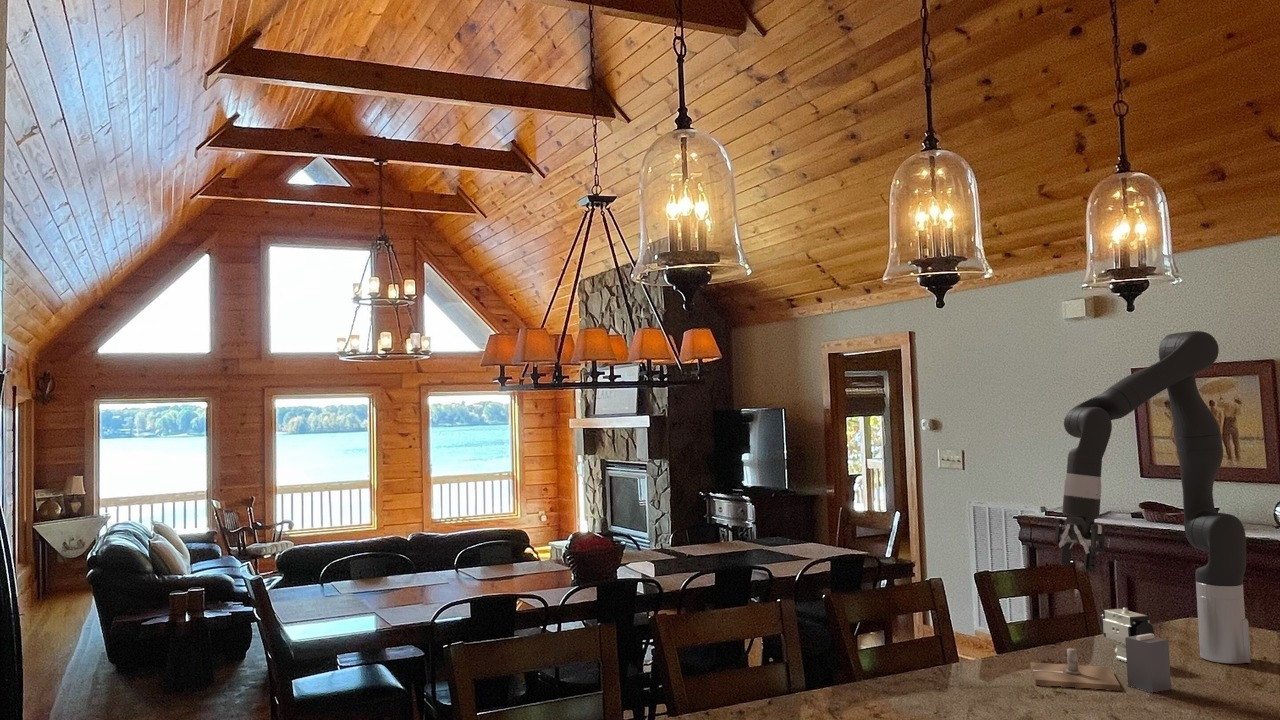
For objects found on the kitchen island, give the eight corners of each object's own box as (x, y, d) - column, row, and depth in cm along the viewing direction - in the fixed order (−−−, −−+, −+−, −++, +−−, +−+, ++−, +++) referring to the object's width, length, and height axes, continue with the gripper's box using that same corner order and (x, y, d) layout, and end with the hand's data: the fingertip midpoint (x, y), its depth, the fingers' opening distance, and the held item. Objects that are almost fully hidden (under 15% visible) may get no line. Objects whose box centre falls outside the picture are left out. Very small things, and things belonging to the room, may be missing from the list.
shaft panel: (1109, 672, 202) (1108, 643, 203) (1120, 691, 189) (1118, 660, 189) (1030, 667, 207) (1029, 639, 208) (1035, 685, 194) (1034, 655, 195)
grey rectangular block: (1146, 682, 194) (1143, 630, 195) (1171, 689, 189) (1168, 635, 190) (1128, 686, 192) (1125, 633, 193) (1152, 693, 187) (1149, 639, 188)
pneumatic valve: (1117, 653, 217) (1114, 602, 218) (1156, 666, 206) (1153, 612, 207) (1097, 656, 216) (1094, 604, 217) (1136, 668, 205) (1133, 614, 205)
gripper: (1118, 500, 201) (1113, 575, 200) (1077, 494, 215) (1071, 565, 214) (1087, 496, 200) (1081, 572, 198) (1047, 491, 214) (1042, 562, 212)
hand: (1076, 568), depth 206 cm, fingers open, 8 cm apart
